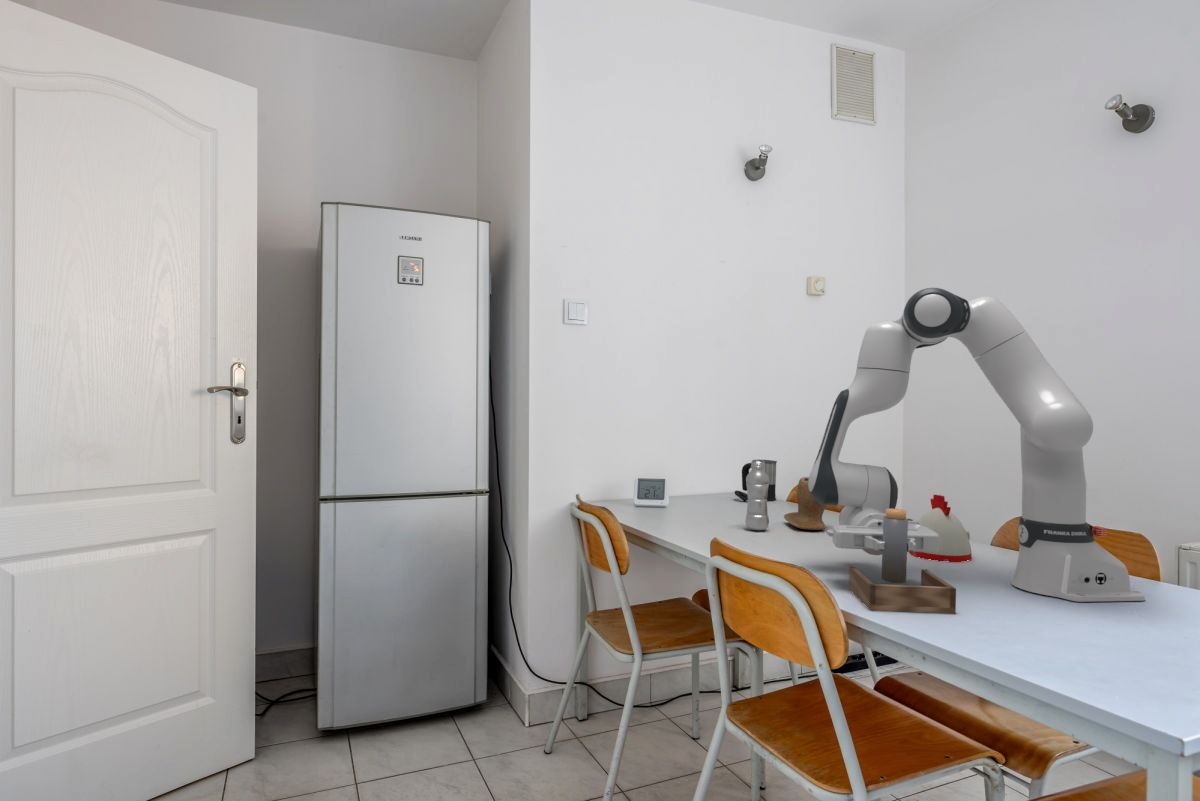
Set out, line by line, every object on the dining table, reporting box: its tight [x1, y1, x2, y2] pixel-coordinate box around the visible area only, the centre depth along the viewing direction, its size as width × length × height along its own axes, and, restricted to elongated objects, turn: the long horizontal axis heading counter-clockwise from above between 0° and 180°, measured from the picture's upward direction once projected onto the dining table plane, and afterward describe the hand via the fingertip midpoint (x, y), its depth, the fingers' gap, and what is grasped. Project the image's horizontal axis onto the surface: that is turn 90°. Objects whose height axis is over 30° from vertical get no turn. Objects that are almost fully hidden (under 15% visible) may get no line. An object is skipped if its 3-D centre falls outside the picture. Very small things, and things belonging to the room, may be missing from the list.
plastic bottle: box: [744, 460, 770, 532], centre depth 203 cm, size 6×7×20 cm
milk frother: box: [734, 459, 778, 502], centre depth 263 cm, size 14×16×15 cm
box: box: [848, 566, 957, 615], centre depth 134 cm, size 15×14×4 cm
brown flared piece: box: [783, 476, 827, 531], centre depth 208 cm, size 15×12×15 cm
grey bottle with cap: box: [881, 508, 909, 584], centre depth 136 cm, size 4×4×14 cm
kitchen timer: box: [908, 494, 972, 563], centre depth 173 cm, size 14×14×15 cm
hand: (896, 547), depth 135 cm, fingers closed on grey bottle with cap, 4 cm apart
